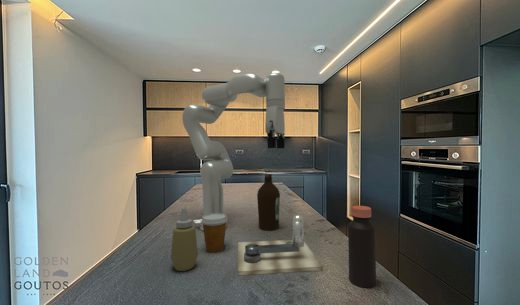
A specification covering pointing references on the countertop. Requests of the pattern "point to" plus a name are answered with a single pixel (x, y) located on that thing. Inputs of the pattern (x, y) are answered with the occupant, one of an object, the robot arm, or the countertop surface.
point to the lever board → (276, 260)
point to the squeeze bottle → (184, 244)
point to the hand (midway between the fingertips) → (276, 148)
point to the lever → (297, 242)
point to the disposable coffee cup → (214, 231)
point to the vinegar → (362, 248)
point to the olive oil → (268, 205)
